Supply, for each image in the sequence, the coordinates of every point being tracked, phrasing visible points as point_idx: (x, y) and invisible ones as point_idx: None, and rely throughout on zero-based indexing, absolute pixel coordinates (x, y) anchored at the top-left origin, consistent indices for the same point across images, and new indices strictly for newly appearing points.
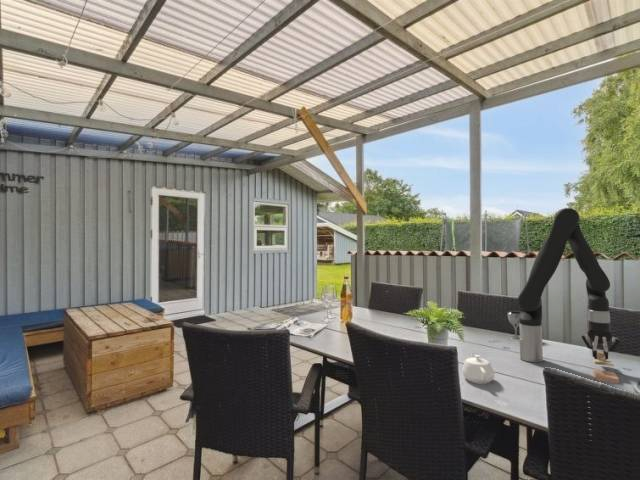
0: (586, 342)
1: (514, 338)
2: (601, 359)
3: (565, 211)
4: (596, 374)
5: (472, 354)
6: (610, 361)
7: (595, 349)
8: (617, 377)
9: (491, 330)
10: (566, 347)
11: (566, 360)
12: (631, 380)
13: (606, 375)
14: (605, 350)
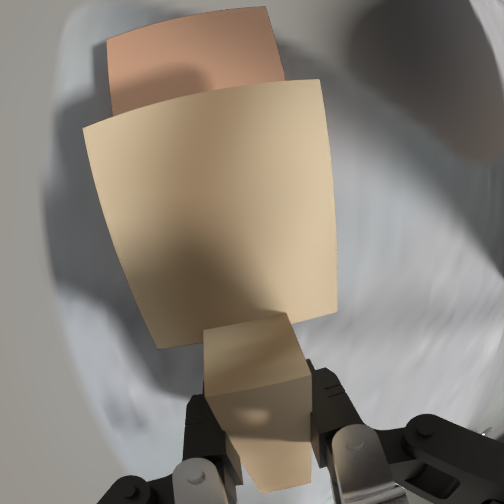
0: (490, 459)
1: (487, 430)
2: (246, 330)
3: None
4: (266, 37)
5: None
6: (153, 338)
7: (344, 445)
8: (109, 72)
9: (501, 434)
10: None
11: (422, 356)
12: (51, 200)
13: (189, 58)
14: (208, 476)
